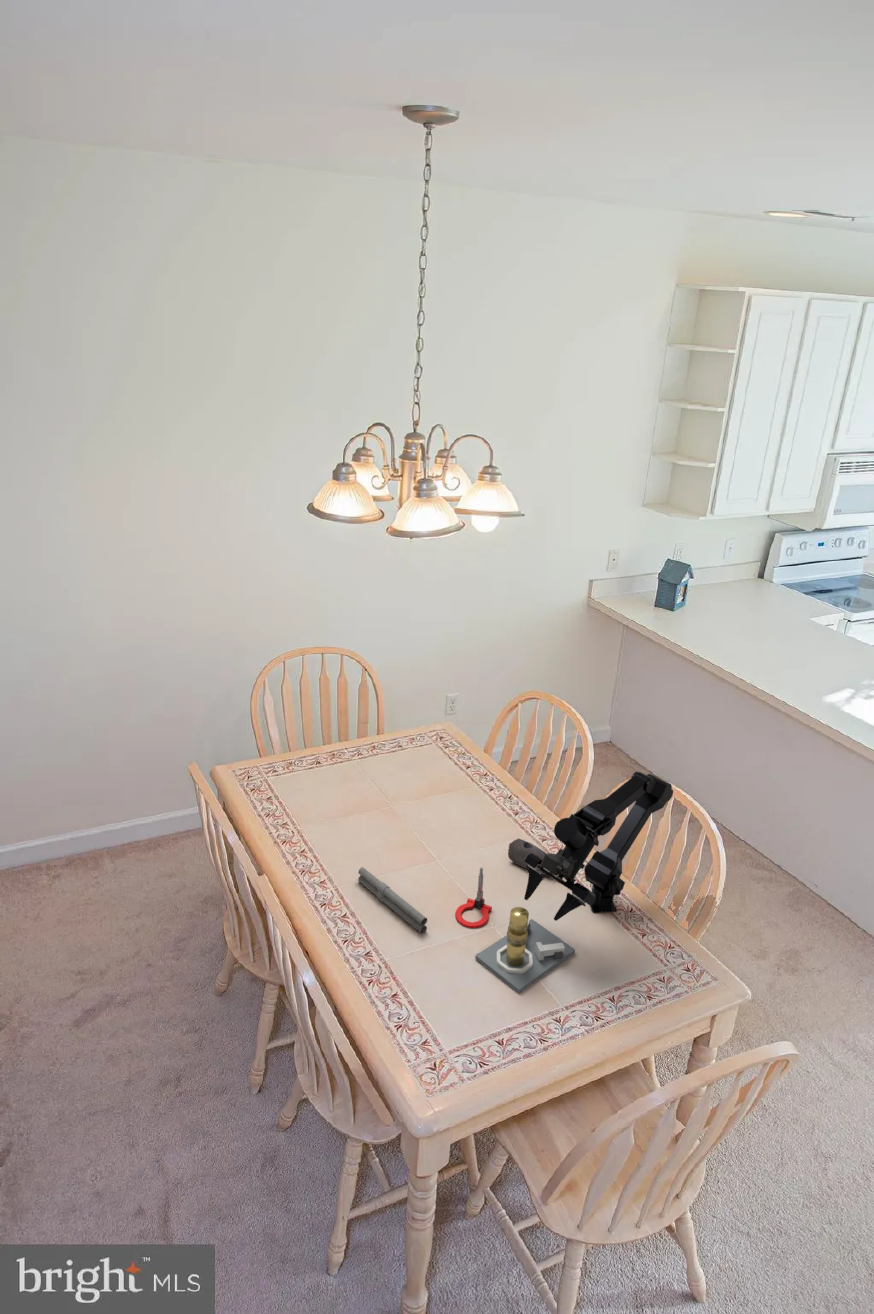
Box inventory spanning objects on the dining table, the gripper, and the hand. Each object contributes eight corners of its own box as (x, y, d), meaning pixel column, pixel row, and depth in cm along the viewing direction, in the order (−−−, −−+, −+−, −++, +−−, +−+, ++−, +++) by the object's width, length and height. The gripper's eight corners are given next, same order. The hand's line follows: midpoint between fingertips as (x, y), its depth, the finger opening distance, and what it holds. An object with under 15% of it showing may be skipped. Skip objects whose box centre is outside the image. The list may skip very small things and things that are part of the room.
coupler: (505, 950, 209) (510, 904, 203) (526, 954, 208) (531, 907, 203) (503, 965, 205) (507, 918, 199) (524, 969, 204) (529, 922, 198)
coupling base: (531, 922, 220) (533, 908, 219) (574, 953, 211) (576, 939, 209) (475, 959, 208) (476, 944, 206) (518, 993, 199) (520, 979, 197)
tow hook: (479, 934, 216) (495, 911, 224) (481, 893, 211) (498, 871, 218) (449, 922, 220) (466, 900, 227) (450, 882, 214) (467, 860, 222)
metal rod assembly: (427, 931, 216) (428, 915, 214) (419, 936, 214) (420, 920, 212) (364, 879, 233) (364, 863, 231) (355, 883, 232) (356, 867, 230)
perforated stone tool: (562, 876, 238) (564, 855, 236) (552, 885, 234) (555, 864, 232) (515, 854, 246) (517, 833, 244) (505, 862, 242) (507, 842, 240)
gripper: (532, 824, 210) (496, 880, 207) (594, 862, 197) (557, 922, 195) (550, 839, 218) (516, 893, 215) (610, 876, 205) (575, 934, 203)
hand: (539, 909), depth 207 cm, fingers open, 9 cm apart
